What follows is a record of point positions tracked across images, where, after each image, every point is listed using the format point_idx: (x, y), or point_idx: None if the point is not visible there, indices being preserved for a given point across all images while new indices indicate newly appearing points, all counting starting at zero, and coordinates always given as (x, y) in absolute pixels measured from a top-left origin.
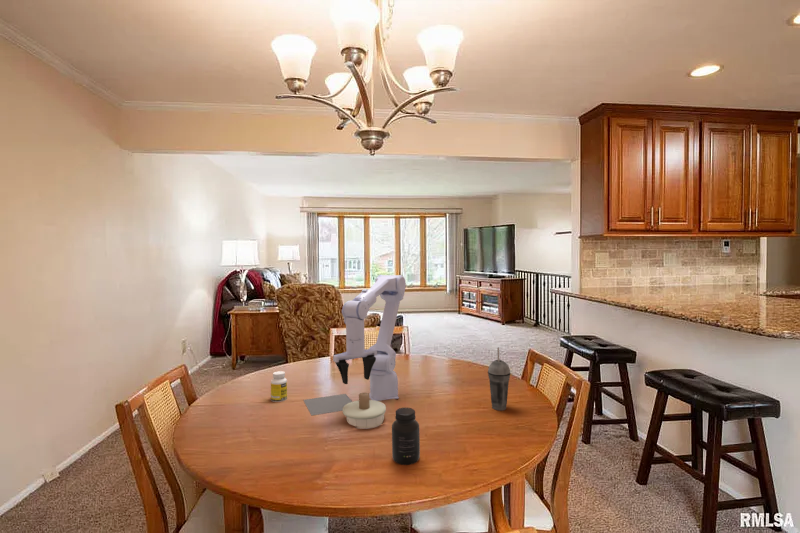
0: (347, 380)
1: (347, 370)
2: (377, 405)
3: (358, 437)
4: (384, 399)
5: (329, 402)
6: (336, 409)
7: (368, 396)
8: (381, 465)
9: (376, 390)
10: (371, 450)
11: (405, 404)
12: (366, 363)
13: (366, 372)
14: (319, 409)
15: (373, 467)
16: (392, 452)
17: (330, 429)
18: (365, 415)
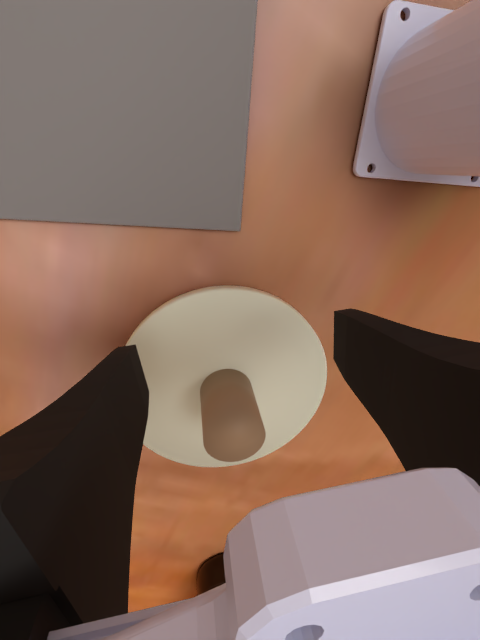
0: (143, 422)
1: (125, 531)
2: (291, 389)
3: (153, 463)
4: (417, 178)
5: (95, 26)
6: (121, 194)
7: (249, 451)
8: (164, 579)
9: (419, 151)
10: (165, 529)
11: (454, 269)
12: (428, 445)
13: (365, 377)
14: (11, 136)
15: (144, 582)
16: (197, 590)
17: (62, 382)
18: (198, 463)
